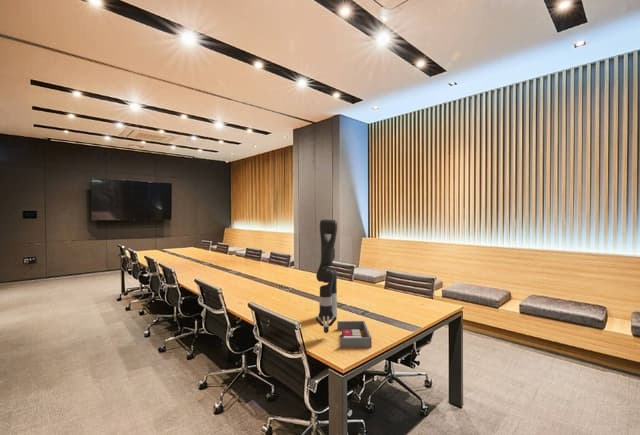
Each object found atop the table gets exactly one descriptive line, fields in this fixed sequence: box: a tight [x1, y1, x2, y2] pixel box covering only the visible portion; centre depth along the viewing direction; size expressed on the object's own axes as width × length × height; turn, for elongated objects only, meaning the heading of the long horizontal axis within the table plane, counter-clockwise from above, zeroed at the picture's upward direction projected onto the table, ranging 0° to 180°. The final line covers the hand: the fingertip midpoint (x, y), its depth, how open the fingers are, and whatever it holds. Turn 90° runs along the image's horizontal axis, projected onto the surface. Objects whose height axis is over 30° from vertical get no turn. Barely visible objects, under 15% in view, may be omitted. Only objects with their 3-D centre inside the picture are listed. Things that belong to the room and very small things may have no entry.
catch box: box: [336, 320, 373, 349], centre depth 176 cm, size 26×17×5 cm, turn 0°
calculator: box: [341, 329, 363, 338], centre depth 173 cm, size 11×4×15 cm
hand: (326, 332), depth 176 cm, fingers closed
